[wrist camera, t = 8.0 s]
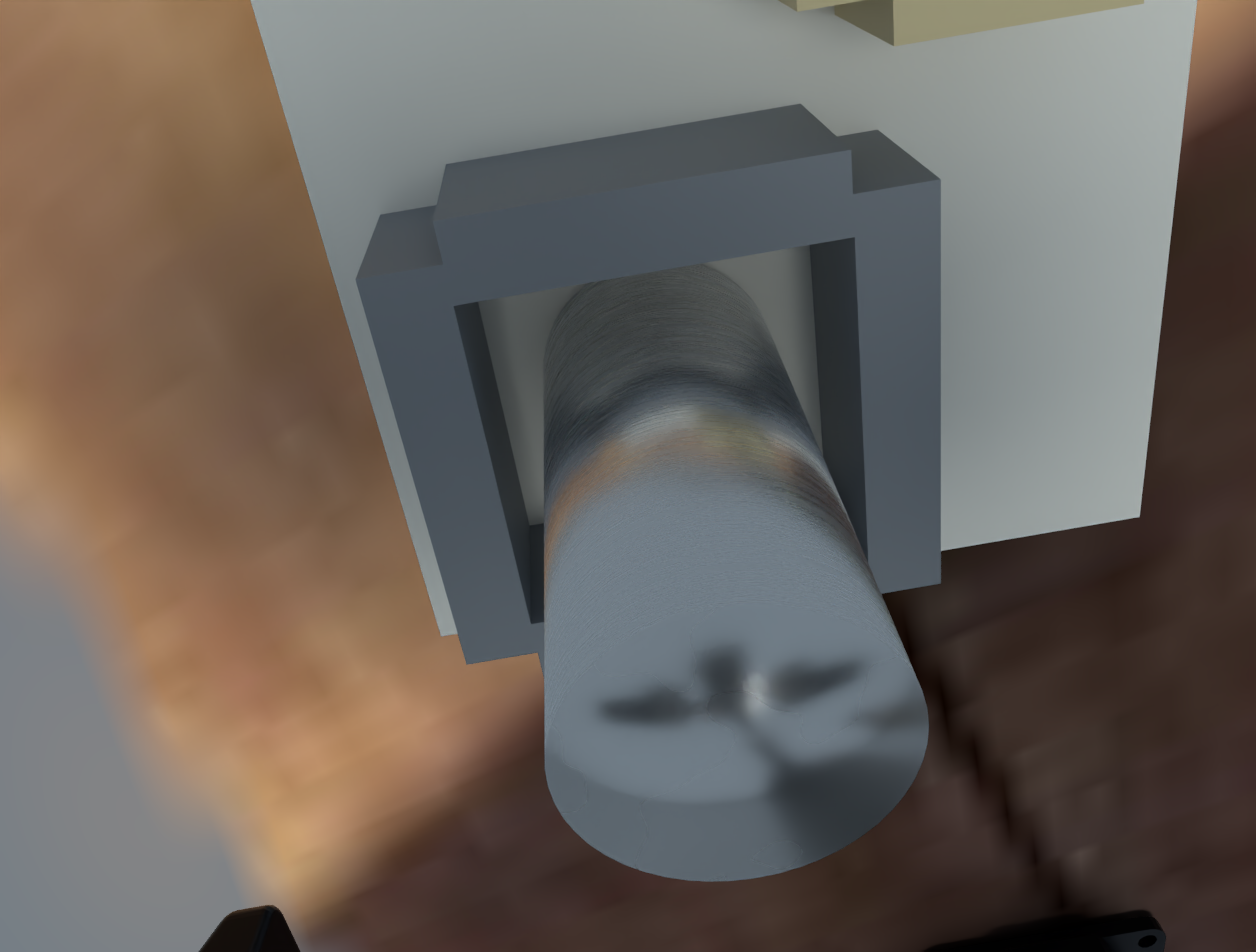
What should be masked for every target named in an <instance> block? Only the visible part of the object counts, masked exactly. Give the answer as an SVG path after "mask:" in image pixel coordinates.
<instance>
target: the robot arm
mask: <svg viewBox="0 0 1256 952" xmlns="http://www.w3.org/2000/svg"><path fill="white" fill-rule="evenodd" d="M1165 940H1166V936H1165V933H1164V931H1163V929H1162V928H1161V926H1160V924H1159V923H1158V921H1157V920H1156V919H1155V918H1153V917H1149V916H1145V917H1137V918H1131V919H1125V920H1119V921H1113V922H1108V923H1102V924H1096V925H1090V926H1084V927H1078V928H1073V929H1067V930H1061V931H1055V932H1049V933H1043V934H1037V935H1032V936H1026V937H1020V938H1014V939H1008V940H1002V941H997V942H991V943H985V944H979V945H973V946H967V947H962V948H956V949H950V950H944V951H939V952H1164V947H1165ZM199 952H300V950H299V948H298V946H297V944H296V942H295V939H294V937H293V935H292V933H291V931H290V929H289V927H288V925H287V923H286V920H285V918H284V916H283V914H282V913H281V911H280V910H279V909H278V908H277V907H275V906H273V905H265V906H259V907H253V908H248V909H242V910H237V911H234V912H232V913H230V914H229V915H227V916H226V917H225V918H224V919H223V920H222V921H221V922H220V924H219V925H218V926H217V928H216V929H215V931H214V932H213V933H212V934H211V936H210V937H209V939H208V940H207V941H206V942H205V944H204V945H203V947H202V948H201V949H200V951H199Z"/></svg>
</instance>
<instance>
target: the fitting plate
mask: <svg viewBox="0 0 1256 952" xmlns="http://www.w3.org/2000/svg"><path fill="white" fill-rule="evenodd" d="M251 4H252V7H253V10H254V14H255V17H256V20H257V24H258V27H259V30H260V34H261V37H262V40H263V44H264V47H265V50H266V54H267V57H268V60H269V64H270V67H271V70H272V74H273V77H274V80H275V84H276V87H277V91H278V94H279V97H280V101H281V104H282V107H283V111H284V114H285V117H286V121H287V124H288V127H289V131H290V134H291V137H292V141H293V144H294V147H295V151H296V154H297V157H298V161H299V164H300V167H301V171H302V174H303V177H304V181H305V184H306V187H307V191H308V194H309V197H310V201H311V204H312V207H313V211H314V214H315V217H316V221H317V224H318V227H319V231H320V234H321V237H322V241H323V244H324V247H325V251H326V254H327V257H328V261H329V264H330V267H331V271H332V274H333V277H334V281H335V284H336V287H337V291H338V294H339V297H340V301H341V304H342V307H343V311H344V314H345V317H346V321H347V324H348V327H349V331H350V334H351V337H352V341H353V344H354V347H355V351H356V354H357V357H358V361H359V364H360V367H361V371H362V374H363V377H364V381H365V384H366V387H367V391H368V394H369V397H370V401H371V404H372V407H373V411H374V414H375V417H376V421H377V424H378V427H379V431H380V434H381V437H382V441H383V444H384V447H385V451H386V454H387V458H388V461H389V464H390V468H391V471H392V474H393V478H394V481H395V484H396V488H397V491H398V494H399V498H400V501H401V504H402V508H403V511H404V514H405V518H406V521H407V524H408V528H409V531H410V534H411V538H412V541H413V544H414V548H415V551H416V554H417V558H418V561H419V564H420V568H421V571H422V574H423V578H424V581H425V584H426V588H427V591H428V594H429V598H430V601H431V604H432V608H433V611H434V614H435V618H436V621H437V624H438V628H439V631H440V634H441V636H447V635H453V634H458V636H459V640H460V643H461V647H462V650H463V654H464V657H465V660H466V664H473V663H479V662H485V661H491V660H497V659H502V658H508V657H514V656H520V655H526V654H532V653H537V652H538V655H539V659H540V663H541V667H542V672H543V676H544V403H543V360H544V353H545V347H546V343H547V340H548V337H549V333H550V331H551V329H552V327H553V325H554V323H555V320H556V319H557V317H558V316H559V314H560V313H561V311H562V309H563V308H564V307H565V305H566V304H567V303H568V302H569V301H570V300H571V298H572V297H573V296H574V295H575V294H576V293H577V292H579V291H580V290H581V289H582V288H583V287H584V286H585V285H587V284H588V283H590V282H596V281H602V280H608V279H613V278H619V277H625V276H631V275H637V274H643V273H649V272H654V271H660V270H666V269H672V268H678V267H684V266H689V265H695V264H700V265H704V266H706V267H709V268H711V269H713V270H716V271H718V272H720V273H721V274H723V275H725V276H726V277H728V278H730V279H731V280H732V281H734V282H735V283H736V284H737V285H739V286H740V287H741V288H742V289H743V290H744V291H745V292H746V293H747V294H748V295H749V296H750V297H751V298H752V300H753V301H754V303H755V304H756V305H757V307H758V308H759V310H760V312H761V314H762V316H763V318H764V320H765V322H766V324H767V326H768V329H769V331H770V333H771V336H772V338H773V340H774V343H775V345H776V347H777V350H778V352H779V354H780V357H781V359H782V361H783V364H784V366H785V369H786V371H787V373H788V376H789V378H790V380H791V383H792V385H793V387H794V390H795V392H796V394H797V397H798V399H799V402H800V404H801V406H802V409H803V411H804V413H805V416H806V418H807V420H808V423H809V425H810V427H811V430H812V432H813V435H814V437H815V439H816V442H817V444H818V446H819V449H820V451H821V453H822V456H823V458H824V460H825V463H826V465H827V467H828V470H829V472H830V475H831V477H832V479H833V482H834V484H835V486H836V489H837V491H838V493H839V496H840V498H841V500H842V503H843V505H844V508H845V510H846V512H847V515H848V517H849V519H850V522H851V524H852V526H853V529H854V531H855V533H856V536H857V538H858V541H859V543H860V545H861V548H862V550H863V552H864V555H865V557H866V559H867V562H868V564H869V566H870V569H871V571H872V574H873V576H874V578H875V581H876V583H877V585H878V588H879V590H880V592H881V594H882V593H888V592H894V591H899V590H905V589H911V588H917V587H923V586H929V585H935V584H940V583H941V551H943V550H949V549H955V548H961V547H967V546H972V545H978V544H984V543H990V542H996V541H1002V540H1007V539H1013V538H1019V537H1025V536H1031V535H1037V534H1043V533H1048V532H1054V531H1060V530H1066V529H1072V528H1078V527H1083V526H1089V525H1095V524H1101V523H1107V522H1113V521H1118V520H1124V519H1130V518H1136V517H1140V509H1141V500H1142V491H1143V482H1144V473H1145V464H1146V455H1147V446H1148V437H1149V428H1150V419H1151V410H1152V401H1153V392H1154V383H1155V374H1156V365H1157V356H1158V347H1159V338H1160V329H1161V320H1162V311H1163V302H1164V293H1165V284H1166V275H1167V266H1168V257H1169V248H1170V239H1171V230H1172V221H1173V212H1174V203H1175V194H1176V185H1177V176H1178V167H1179V158H1180V149H1181V140H1182V131H1183V122H1184V113H1185V104H1186V95H1187V86H1188V77H1189V68H1190V59H1191V50H1192V41H1193V32H1194V24H1195V15H1196V6H1197V0H251Z"/></svg>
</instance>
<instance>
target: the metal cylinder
mask: <svg viewBox="0 0 1256 952" xmlns="http://www.w3.org/2000/svg"><path fill="white" fill-rule="evenodd" d="M543 403H544V692H545V773H546V778H547V784H548V788H549V790H550V793H551V796H552V798H553V801H554V803H555V805H556V807H557V808H558V810H559V812H560V813H561V815H562V817H563V818H564V819H565V821H566V822H567V823H568V824H569V825H570V827H571V828H572V829H573V830H574V831H575V832H576V833H577V834H578V835H579V836H580V837H581V838H582V839H584V840H585V841H586V842H587V843H588V844H589V845H591V846H592V847H594V848H595V849H597V850H598V851H600V852H601V853H603V854H604V855H606V856H608V857H610V858H612V859H614V860H616V861H618V862H620V863H622V864H624V865H627V866H630V867H632V868H635V869H638V870H641V871H643V872H647V873H651V874H655V875H659V876H663V877H669V878H675V879H682V880H692V881H735V880H744V879H752V878H758V877H763V876H768V875H773V874H778V873H782V872H785V871H789V870H792V869H795V868H799V867H802V866H804V865H807V864H809V863H812V862H815V861H817V860H820V859H822V858H824V857H826V856H828V855H830V854H832V853H834V852H836V851H838V850H840V849H842V848H844V847H845V846H847V845H849V844H850V843H852V842H854V841H855V840H857V839H858V838H860V837H861V836H863V835H864V834H865V833H867V832H868V831H869V830H871V829H872V828H873V827H874V826H876V825H877V824H878V823H879V822H880V821H881V820H882V819H883V818H884V817H885V816H887V815H888V814H889V813H890V812H891V811H892V810H893V808H894V807H895V806H896V805H897V804H898V802H899V801H900V800H901V799H902V798H903V796H904V795H905V794H906V792H907V791H908V789H909V787H910V786H911V784H912V783H913V781H914V779H915V778H916V775H917V773H918V771H919V769H920V766H921V764H922V762H923V758H924V755H925V751H926V747H927V743H928V731H929V721H928V711H927V705H926V702H925V699H924V695H923V692H922V689H921V687H920V684H919V682H918V680H917V677H916V675H915V672H914V670H913V668H912V665H911V663H910V661H909V658H908V656H907V654H906V651H905V649H904V647H903V644H902V642H901V639H900V637H899V635H898V632H897V630H896V628H895V625H894V623H893V621H892V618H891V616H890V614H889V611H888V609H887V606H886V604H885V602H884V599H883V597H882V595H881V592H880V590H879V588H878V585H877V583H876V581H875V578H874V576H873V574H872V571H871V569H870V566H869V564H868V562H867V559H866V557H865V555H864V552H863V550H862V548H861V545H860V543H859V541H858V538H857V536H856V533H855V531H854V529H853V526H852V524H851V522H850V519H849V517H848V515H847V512H846V510H845V508H844V505H843V503H842V500H841V498H840V496H839V493H838V491H837V489H836V486H835V484H834V482H833V479H832V477H831V475H830V472H829V470H828V467H827V465H826V463H825V460H824V458H823V456H822V453H821V451H820V449H819V446H818V444H817V442H816V439H815V437H814V435H813V432H812V430H811V427H810V425H809V423H808V420H807V418H806V416H805V413H804V411H803V409H802V406H801V404H800V402H799V399H798V397H797V394H796V392H795V390H794V387H793V385H792V383H791V380H790V378H789V376H788V373H787V371H786V369H785V366H784V364H783V361H782V359H781V357H780V354H779V352H778V350H777V347H776V345H775V343H774V340H773V338H772V336H771V333H770V331H769V329H768V326H767V324H766V322H765V320H764V318H763V316H762V314H761V312H760V310H759V308H758V307H757V305H756V304H755V303H754V301H753V300H752V298H751V297H750V296H749V295H748V294H747V293H746V292H745V291H744V290H743V289H742V288H741V287H740V286H739V285H737V284H736V283H735V282H734V281H732V280H731V279H730V278H728V277H726V276H725V275H723V274H721V273H720V272H718V271H716V270H713V269H711V268H709V267H706V266H704V265H700V264H695V265H689V266H684V267H678V268H672V269H666V270H660V271H654V272H649V273H643V274H637V275H631V276H625V277H619V278H613V279H608V280H602V281H596V282H590V283H588V284H587V285H585V286H584V287H583V288H582V289H581V290H580V291H579V292H577V293H576V294H575V295H574V296H573V297H572V298H571V300H570V301H569V302H568V303H567V304H566V305H565V307H564V308H563V309H562V311H561V313H560V314H559V316H558V317H557V319H556V320H555V323H554V325H553V327H552V329H551V331H550V333H549V337H548V340H547V343H546V347H545V353H544V360H543Z"/></svg>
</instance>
